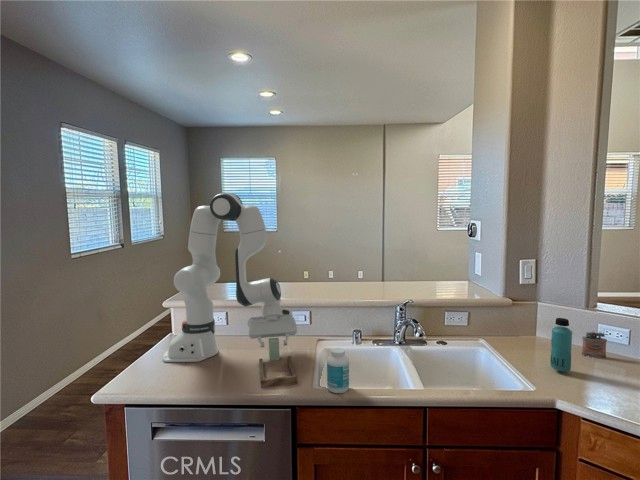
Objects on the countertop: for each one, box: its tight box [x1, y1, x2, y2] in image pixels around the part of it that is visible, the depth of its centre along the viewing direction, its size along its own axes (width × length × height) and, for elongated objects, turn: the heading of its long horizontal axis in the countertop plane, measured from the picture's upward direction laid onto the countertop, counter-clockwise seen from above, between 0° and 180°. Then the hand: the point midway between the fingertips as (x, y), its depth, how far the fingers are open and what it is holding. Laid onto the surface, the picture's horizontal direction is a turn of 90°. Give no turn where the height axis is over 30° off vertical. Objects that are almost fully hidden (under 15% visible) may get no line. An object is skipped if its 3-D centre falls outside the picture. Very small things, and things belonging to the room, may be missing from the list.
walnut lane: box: [258, 355, 298, 388], centre depth 134 cm, size 12×19×2 cm, turn 11°
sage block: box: [268, 337, 280, 362], centre depth 148 cm, size 4×4×8 cm
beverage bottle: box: [549, 317, 573, 372], centre depth 131 cm, size 6×7×20 cm
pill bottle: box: [326, 347, 350, 394], centre depth 121 cm, size 8×7×14 cm
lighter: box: [581, 331, 608, 359], centre depth 145 cm, size 8×3×10 cm, turn 68°
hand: (274, 345), depth 147 cm, fingers open, 8 cm apart
